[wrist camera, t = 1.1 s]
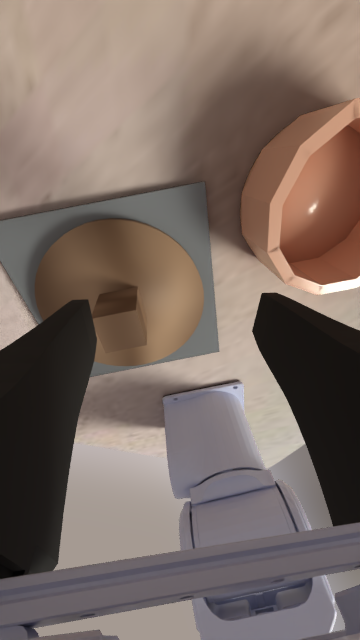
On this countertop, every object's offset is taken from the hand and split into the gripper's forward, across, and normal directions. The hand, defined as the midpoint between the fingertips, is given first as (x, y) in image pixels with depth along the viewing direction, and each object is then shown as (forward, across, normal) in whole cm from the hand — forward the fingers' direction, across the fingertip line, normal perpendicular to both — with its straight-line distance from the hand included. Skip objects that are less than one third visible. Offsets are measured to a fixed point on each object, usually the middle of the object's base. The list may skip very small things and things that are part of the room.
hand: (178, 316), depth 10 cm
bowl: (+10, -11, -3) cm, 15 cm away
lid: (+9, +3, +4) cm, 11 cm away
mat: (+10, +3, +4) cm, 11 cm away
